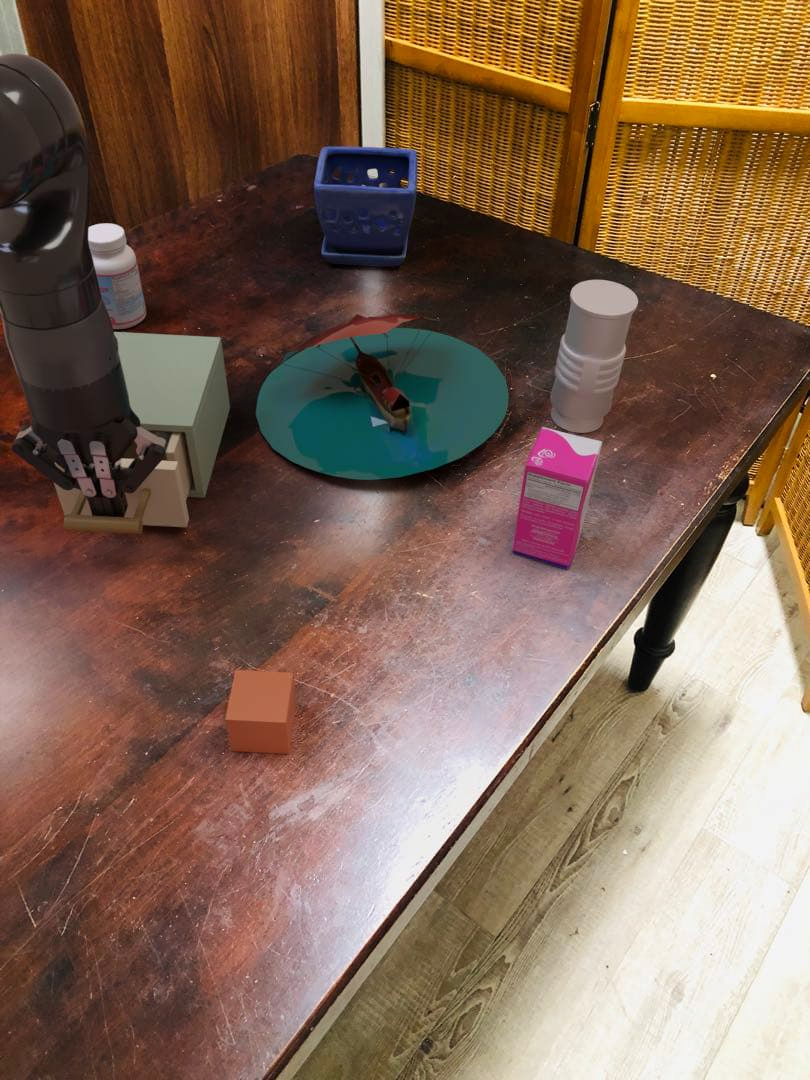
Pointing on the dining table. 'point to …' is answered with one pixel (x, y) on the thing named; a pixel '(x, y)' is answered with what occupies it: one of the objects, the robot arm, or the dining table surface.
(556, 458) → the supplement box
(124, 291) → the pill bottle
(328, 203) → the flower pot
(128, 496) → the drawer
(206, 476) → the cabinet
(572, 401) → the grey ribbed bottle
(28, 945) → the dining table surface
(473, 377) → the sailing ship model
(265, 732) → the block
